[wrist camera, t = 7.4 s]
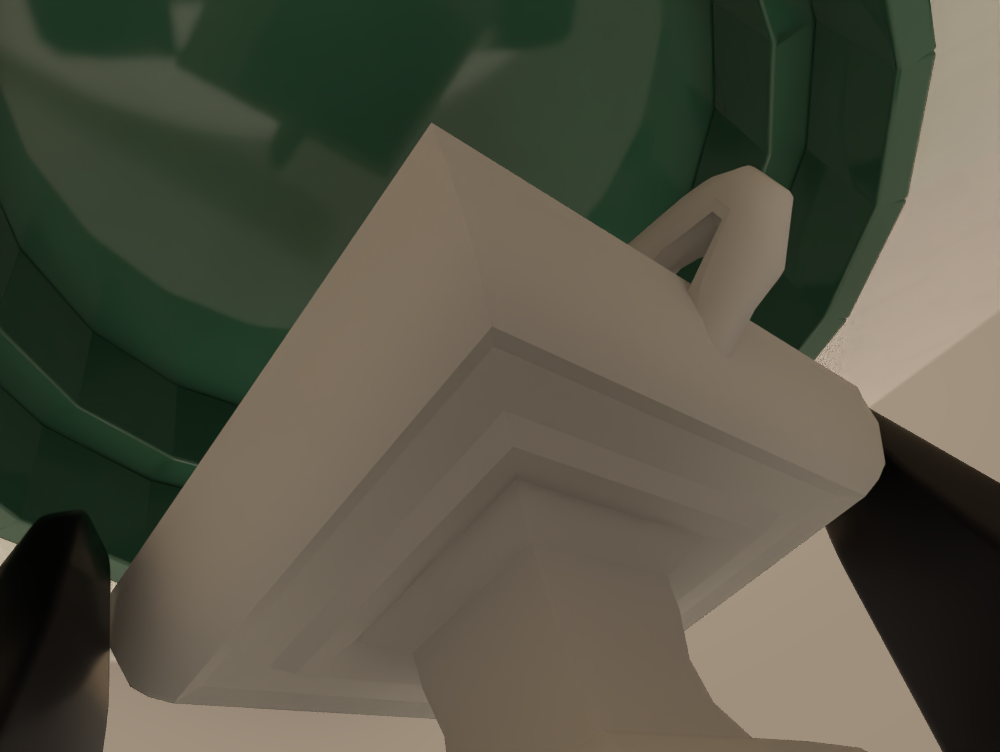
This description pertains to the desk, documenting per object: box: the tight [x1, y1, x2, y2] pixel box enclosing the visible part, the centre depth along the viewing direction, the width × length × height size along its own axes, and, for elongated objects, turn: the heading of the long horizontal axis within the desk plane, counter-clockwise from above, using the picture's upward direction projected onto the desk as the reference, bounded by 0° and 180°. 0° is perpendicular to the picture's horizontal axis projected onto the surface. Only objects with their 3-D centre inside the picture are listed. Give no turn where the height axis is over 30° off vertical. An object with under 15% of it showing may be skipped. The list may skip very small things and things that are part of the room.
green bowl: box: [0, 0, 936, 583], centre depth 13 cm, size 16×16×5 cm
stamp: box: [110, 123, 885, 752], centre depth 8 cm, size 9×7×8 cm
